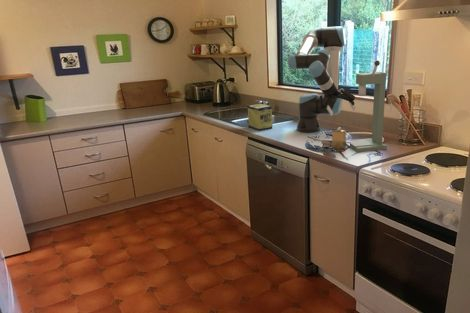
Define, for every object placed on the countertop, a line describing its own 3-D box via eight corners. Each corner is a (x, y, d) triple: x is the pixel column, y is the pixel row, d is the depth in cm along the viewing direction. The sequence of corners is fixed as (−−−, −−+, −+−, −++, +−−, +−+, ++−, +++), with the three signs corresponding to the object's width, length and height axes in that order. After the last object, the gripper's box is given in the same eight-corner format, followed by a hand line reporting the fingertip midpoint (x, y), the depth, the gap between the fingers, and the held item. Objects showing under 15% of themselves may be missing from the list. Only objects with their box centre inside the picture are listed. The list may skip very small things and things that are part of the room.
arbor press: (345, 144, 208) (347, 60, 194) (372, 141, 210) (376, 58, 195) (357, 152, 193) (360, 62, 179) (386, 149, 194) (392, 59, 180)
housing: (330, 148, 203) (330, 126, 199) (342, 146, 203) (342, 125, 200) (334, 151, 196) (335, 129, 193) (347, 150, 197) (348, 128, 193)
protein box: (260, 131, 249) (259, 108, 244) (248, 127, 262) (247, 105, 257) (272, 128, 253) (272, 106, 249) (260, 124, 267) (259, 103, 262)
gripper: (305, 96, 208) (322, 120, 220) (348, 84, 192) (363, 111, 204) (307, 87, 212) (324, 111, 224) (349, 74, 196) (364, 101, 208)
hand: (343, 111), depth 214 cm, fingers open, 13 cm apart
